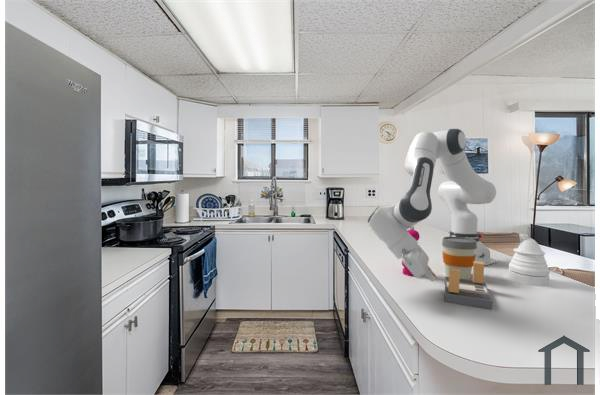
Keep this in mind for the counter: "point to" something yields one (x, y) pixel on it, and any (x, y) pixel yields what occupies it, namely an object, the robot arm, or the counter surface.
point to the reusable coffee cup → (459, 255)
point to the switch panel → (469, 294)
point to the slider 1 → (454, 280)
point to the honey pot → (529, 264)
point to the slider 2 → (478, 272)
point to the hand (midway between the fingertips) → (434, 279)
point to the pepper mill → (416, 236)
